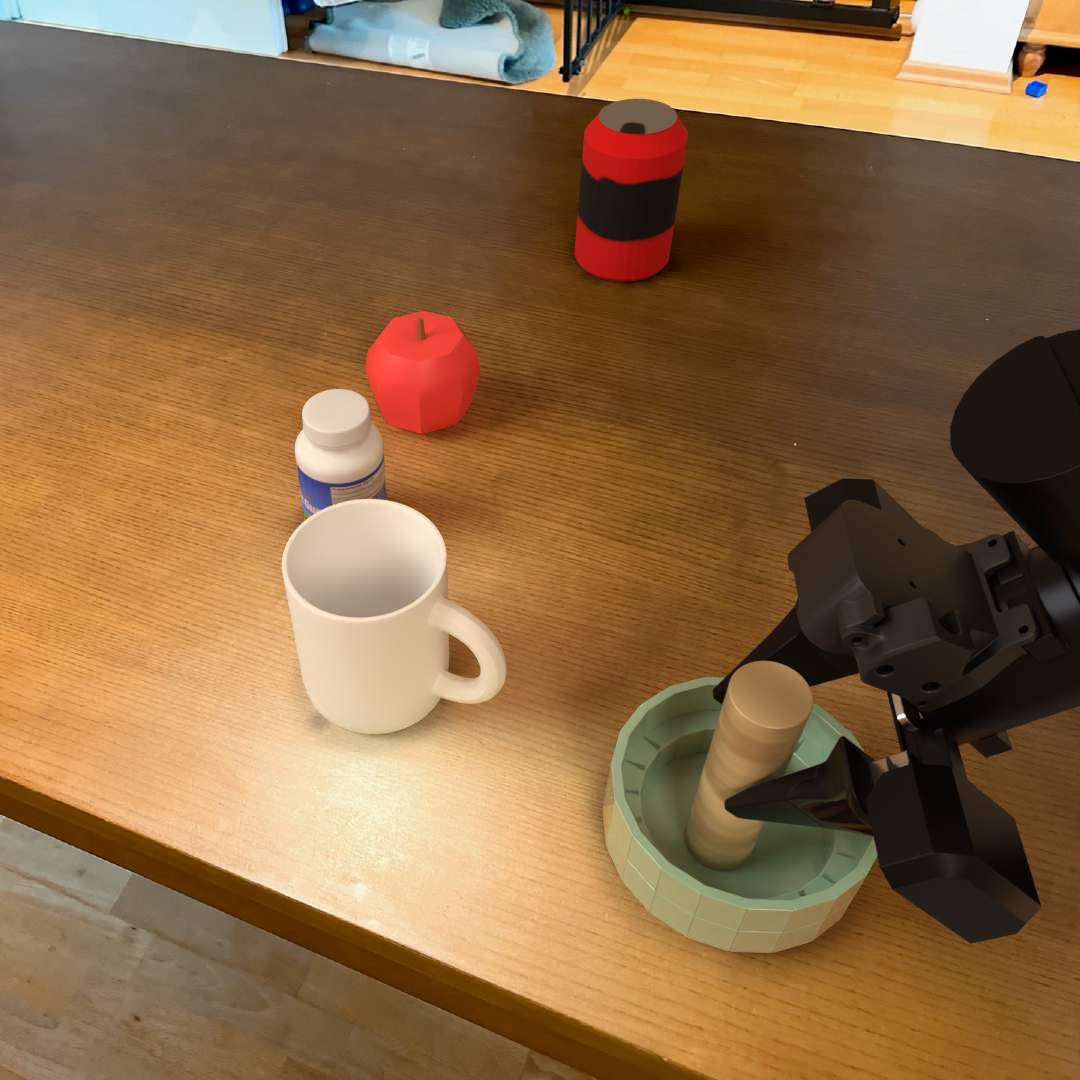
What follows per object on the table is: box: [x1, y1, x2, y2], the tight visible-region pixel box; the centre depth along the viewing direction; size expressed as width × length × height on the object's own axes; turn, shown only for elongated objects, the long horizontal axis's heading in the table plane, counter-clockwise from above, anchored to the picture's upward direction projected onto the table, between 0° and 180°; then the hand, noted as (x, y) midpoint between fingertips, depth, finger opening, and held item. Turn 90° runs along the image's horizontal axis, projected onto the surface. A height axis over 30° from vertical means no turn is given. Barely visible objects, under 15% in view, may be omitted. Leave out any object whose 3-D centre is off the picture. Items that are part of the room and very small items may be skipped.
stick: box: [684, 661, 814, 871], centre depth 47 cm, size 3×3×13 cm
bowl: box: [602, 676, 878, 954], centre depth 51 cm, size 12×12×5 cm
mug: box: [281, 499, 508, 735], centre depth 56 cm, size 12×8×10 cm
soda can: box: [574, 98, 689, 283], centre depth 83 cm, size 8×8×12 cm
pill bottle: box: [294, 388, 388, 521], centre depth 66 cm, size 5×5×10 cm
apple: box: [364, 310, 482, 435], centre depth 73 cm, size 8×8×8 cm
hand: (723, 752), depth 47 cm, fingers open, 5 cm apart
